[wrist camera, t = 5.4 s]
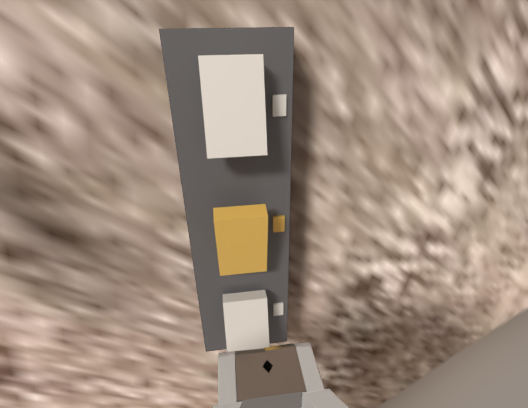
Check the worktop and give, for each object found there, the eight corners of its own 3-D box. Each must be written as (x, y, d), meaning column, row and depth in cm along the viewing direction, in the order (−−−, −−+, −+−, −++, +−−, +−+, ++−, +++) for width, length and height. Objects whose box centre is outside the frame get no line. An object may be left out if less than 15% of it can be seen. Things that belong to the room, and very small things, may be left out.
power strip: (278, 329, 33) (287, 370, 29) (209, 337, 32) (209, 380, 28) (280, 30, 20) (296, 26, 16) (169, 31, 20) (157, 28, 16)
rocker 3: (267, 345, 25) (269, 356, 24) (227, 350, 25) (227, 361, 24) (264, 289, 24) (267, 298, 23) (222, 294, 24) (222, 303, 23)
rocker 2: (264, 258, 23) (266, 271, 22) (219, 262, 22) (219, 275, 22) (265, 203, 20) (268, 216, 19) (213, 207, 19) (213, 220, 18)
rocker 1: (264, 152, 18) (267, 155, 17) (208, 156, 18) (207, 158, 17) (260, 58, 17) (263, 53, 16) (199, 60, 17) (197, 55, 15)
